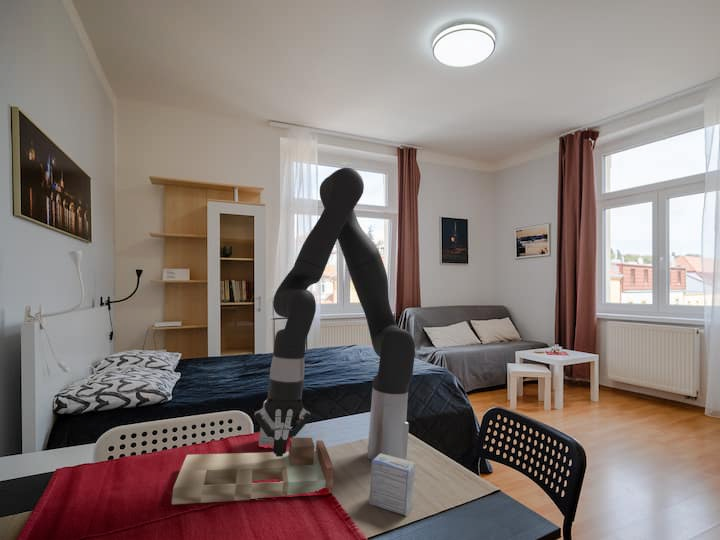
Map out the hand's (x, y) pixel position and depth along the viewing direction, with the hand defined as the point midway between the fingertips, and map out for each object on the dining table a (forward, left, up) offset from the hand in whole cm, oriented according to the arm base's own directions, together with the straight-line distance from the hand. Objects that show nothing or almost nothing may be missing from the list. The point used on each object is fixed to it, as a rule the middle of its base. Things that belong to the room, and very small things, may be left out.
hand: (278, 455), depth 85 cm
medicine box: (-21, +15, -4) cm, 26 cm away
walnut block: (-5, 0, -1) cm, 5 cm away
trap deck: (+5, +3, -4) cm, 7 cm away
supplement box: (+1, -16, -4) cm, 17 cm away
